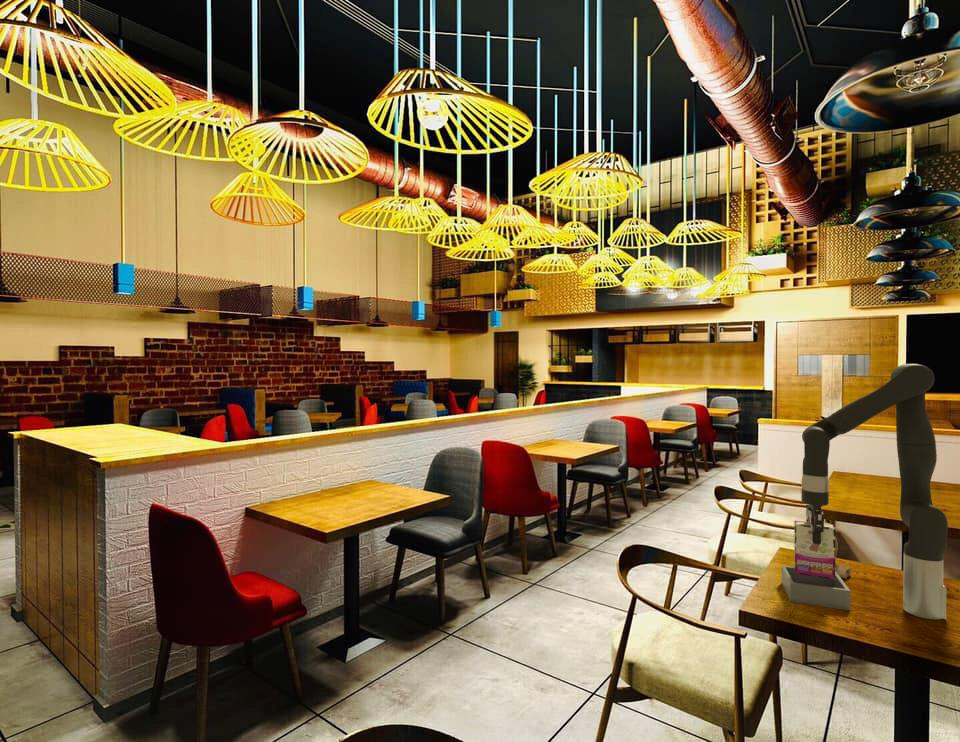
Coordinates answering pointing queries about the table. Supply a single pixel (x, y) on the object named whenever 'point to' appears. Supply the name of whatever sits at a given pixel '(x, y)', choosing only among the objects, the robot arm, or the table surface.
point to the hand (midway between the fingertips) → (814, 540)
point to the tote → (815, 590)
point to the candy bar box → (814, 551)
